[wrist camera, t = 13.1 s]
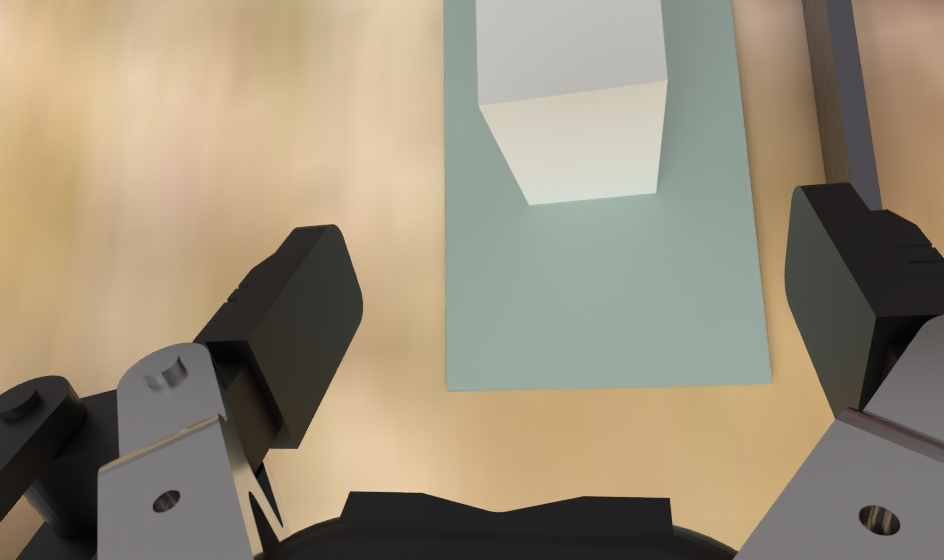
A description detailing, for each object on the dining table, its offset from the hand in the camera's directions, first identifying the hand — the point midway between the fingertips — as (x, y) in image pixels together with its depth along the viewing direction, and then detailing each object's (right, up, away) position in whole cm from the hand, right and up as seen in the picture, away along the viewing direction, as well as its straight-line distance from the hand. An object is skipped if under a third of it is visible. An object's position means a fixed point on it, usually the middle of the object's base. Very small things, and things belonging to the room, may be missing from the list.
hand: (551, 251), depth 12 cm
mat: (+3, +5, +15) cm, 16 cm away
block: (+3, +5, +14) cm, 16 cm away
